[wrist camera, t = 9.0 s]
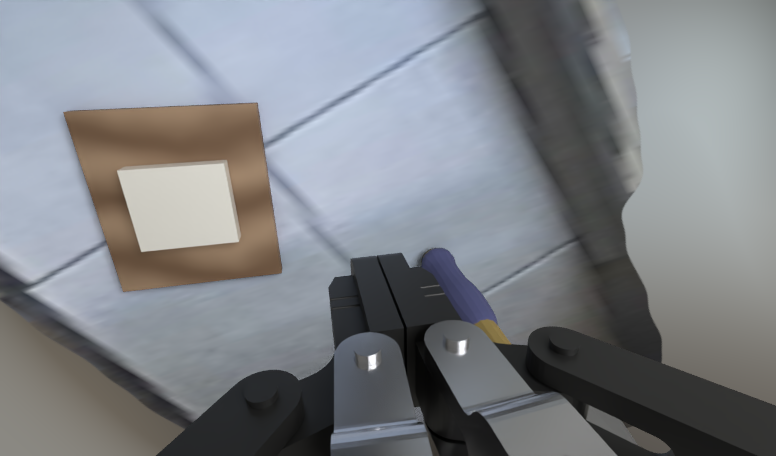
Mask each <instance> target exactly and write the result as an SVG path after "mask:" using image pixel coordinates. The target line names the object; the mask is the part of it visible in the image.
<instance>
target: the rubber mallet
mask: <svg viewBox="0 0 776 456" xmlns="http://www.w3.org/2000/svg"><path fill="white" fill-rule="evenodd" d="M421 267H422V268H424V269H425V270H427V271H428V272H430V273H432V274H433V275H434V277H435V278H436V280H437V281H438V283H439V286H441V288H442V289H443V291H444V293H445V295H446V296H447V297H448V299H449V300H450V302H451V304H452V305H453V307H454V308H455V310H456V311H457V313H458V315H459V316H460V318H461V319H462V321H465V322H468V323H471V324H473V325H475V326H477V327H479V328H480V329H482V330H483V331H484V332H485V334H486V335H487V336H488V337H489V338H490V340H491V341H492V342H495V343H501V344H511V343H510V342H509V340H508V339H507V338H506V336H505V335H504V334H503V332H502V331H501V330H500V328H499V327H498V324H497V320H496V316H495V314H494V312H493V310H492V309H491V307H490V305H489V304H488V302H487V300H486V299H485V298H484V296H483V295H482V293H481V292H480V291H479V290H478V289H477V288H476V287H475V286H474V284H472V283H471V282H470V281H469V280H468V279H467V278H466V277H465V276H464V275H463V273H462V272H461V271H460V270H459V268H458V267H457V265H456V263H455V259H454V257H453V256H452V254H451V253H450V252H449V251H448V250H446V249H443V248H434V249H430V250H429V251H427V252H426V253H425V255H424V256H423V259H422V266H421ZM586 420H587V421H589V422H591V423H593V424H595V425H597V426H599V427H601V428H603V429H605V430H607V431H609V432H611V433H613V434H615V435H617V436H619V437H621V438H623V439H625V440H627V441H629V442H632V443H634V444H636V445H637V443H636V441H635V440H634V439H633V437H632V436H631V434H630V433H629V431H628V430H627V428H626V427H625V425H624V424H623V423H622V421H621V420H620V419H617V418H615V417H613V416H611V415H609V414H607V413H605V412H603V411H600V410H598V409H596V408H594V407H592V406H589V410H588V415H587V419H586Z"/></svg>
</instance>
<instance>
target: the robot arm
mask: <svg viewBox="0 0 776 456" xmlns="http://www.w3.org/2000/svg"><path fill="white" fill-rule="evenodd" d="M329 297H330V308H331V318H332V328H333V337H334V345H335V354H334V356H333V358H332V359H331V361H330V362H329V363H328V364H327V365H326V366H325V367H324V368H323V369H322V370H320V371H319V372H317V373H315V374H313V375H311V376H309V377H307V378H304V379H302V380H299V381H298V379H297V378H296V377H295V376H294V375H292V374H290V373H288V372H285V371H281V370H267V371H262V372H258V373H255V374H252V375H250V376H248V377H246V378H244V379H243V380H241V381H240V382H238V383H237V384H236V385H235V386H234V387H232V388H231V389H230V390H229V391H228V392H227V393H226V394H225V395H223V396H222V397H221V398H220V399H219V400H218V401H217V402H216V403H214V404H213V405H212V406H211V407H210V408H209V409H208V410H207V411H206V412H204V413H203V414H202V415H201V416H200V417H199V418H198V419H197V420H195V421H194V422H193V423H192V424H191V425H190V426H189V427H188V428H186V429H185V430H184V431H183V432H182V433H181V434H180V435H179V436H178V437H177V438H175V439H174V440H173V441H172V442H171V443H170V444H169V445H167V446H166V447H165V448H164V449H163V450H162V451H161V452H160V453H158V454H157V455H156V456H776V406H775V405H772V404H770V403H767V402H764V401H762V400H759V399H756V398H753V397H751V396H748V395H746V394H743V393H740V392H737V391H735V390H732V389H729V388H727V387H724V386H721V385H718V384H716V383H713V382H710V381H708V380H705V379H703V378H700V377H697V376H694V375H692V374H689V373H686V372H684V371H681V370H678V369H676V368H673V367H670V366H667V365H665V364H662V363H659V362H657V361H654V360H651V359H649V358H646V357H643V356H641V355H638V354H635V353H633V352H630V351H627V350H624V349H622V348H619V347H616V346H614V345H611V344H608V343H606V342H603V341H600V340H598V339H595V338H592V337H590V336H587V335H584V334H581V333H579V332H576V331H573V330H570V329H567V328H562V327H543V328H539V329H536V330H535V331H533V332H532V333H531V334H530V336H529V339H528V346H527V345H513V344H501V343H495V342H492V341H491V340H490V338H489V337H488V336H487V335H486V334H485V332H484V331H483V330H482V329H480V328H479V327H477V326H475V325H473V324H471V323H468V322H465V321H462V319H461V318H460V316H459V315H458V313H457V311H456V310H455V308H454V307H453V305H452V304H451V302H450V300H449V299H448V297H447V296H446V295H445V293H444V291H443V289H442V288H441V286H439V283H438V281H437V280H436V278H435V277H434V275H433V274H432V273H430V272H428V271H427V270H425V269H424V268H422V267H415V268H410V267H409V265H408V264H407V262H406V260H405V258H404V256H403V254H402V253H395V254H386V255H377V257H376V256H369V257H361V258H352V259H351V275H350V276H342V277H335V278H334V280H333V281H332V283H331V284H330V286H329ZM419 406H420V408H421V411H422V414H423V422H417V418H416V414H415V410H414V407H419ZM589 406H592V407H594V408H596V409H598V410H600V411H603V412H605V413H607V414H609V415H611V416H613V417H615V418H617V419H620V420H622V421H624V422H626V423H628V424H630V425H632V426H634V427H637V428H639V429H641V430H643V431H645V432H647V433H649V434H651V435H654V436H656V437H657V438H659V439H661V440H662V441H664V442H665V443H666V444H667V445H668V446H669V447H670V448H671V450H670V451H669V452H667V453H663V454H657V453H653V452H650V451H648V450H646V449H644V448H641V447H639V446H638V445H636V444H634V443H632V442H629V441H627V440H625V439H623V438H621V437H619V436H617V435H615V434H613V433H611V432H609V431H607V430H605V429H603V428H601V427H599V426H597V425H595V424H593V423H591V422H589V421H587V420H586V419H587V415H588V410H589Z"/></svg>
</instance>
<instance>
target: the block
mask: <svg viewBox="0 0 776 456" xmlns="http://www.w3.org/2000/svg"><path fill="white" fill-rule="evenodd" d="M117 173H118V176H119V179H120V183H121V186H122V189H123V193H124V196H125V199H126V203H127V206H128V209H129V213H130V216H131V219H132V223H133V226H134V229H135V233H136V236H137V239H138V243H139V246H140V249H141V252H146V251H156V250H165V249H175V248H185V247H194V246H204V245H214V244H224V243H233V242H239V240H240V237H241V232H240V227H239V222H238V216H237V211H236V206H235V200H234V195H233V190H232V184H231V179H230V174H229V168H228V163H227V160H215V161H200V162H185V163H170V164H156V165H141V166H126V167H123V168H121V169H119V170H117Z"/></svg>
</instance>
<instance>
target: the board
mask: <svg viewBox="0 0 776 456" xmlns="http://www.w3.org/2000/svg"><path fill="white" fill-rule="evenodd" d="M63 113H64V116H65V119H66V122H67V125H68V128H69V131H70V134H71V137H72V140H73V143H74V146H75V149H76V152H77V155H78V158H79V161H80V164H81V167H82V170H83V173H84V176H85V179H86V182H87V185H88V188H89V191H90V194H91V197H92V200H93V203H94V206H95V209H96V212H97V215H98V218H99V221H100V224H101V227H102V230H103V233H104V236H105V239H106V242H107V245H108V248H109V250H110V253H111V256H112V259H113V262H114V265H115V268H116V271H117V274H118V277H119V280H120V283H121V286H122V289H123V292H126V291H135V290H143V289H152V288H160V287H169V286H177V285H186V284H194V283H203V282H211V281H220V280H228V279H236V278H245V277H253V276H262V275H270V274H279V273H282V264H281V258H280V251H279V244H278V237H277V231H276V224H275V217H274V210H273V204H272V197H271V190H270V184H269V177H268V170H267V163H266V157H265V150H264V143H263V136H262V130H261V123H260V116H259V109H258V103H237V104H214V105H191V106H168V107H145V108H122V109H100V110H77V111H67V112H63ZM215 160H227V163H228V168H229V174H230V179H231V184H232V190H233V195H234V200H235V206H236V211H237V216H238V222H239V227H240V232H241V237H240V240H239V242H233V243H224V244H214V245H204V246H194V247H185V248H175V249H165V250H156V251H146V252H141V249H140V246H139V243H138V239H137V236H136V233H135V229H134V226H133V223H132V219H131V216H130V213H129V209H128V206H127V203H126V199H125V196H124V193H123V189H122V186H121V183H120V179H119V176H118V173H117V170H119V169H121V168H123V167H126V166H141V165H156V164H170V163H185V162H200V161H215Z"/></svg>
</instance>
